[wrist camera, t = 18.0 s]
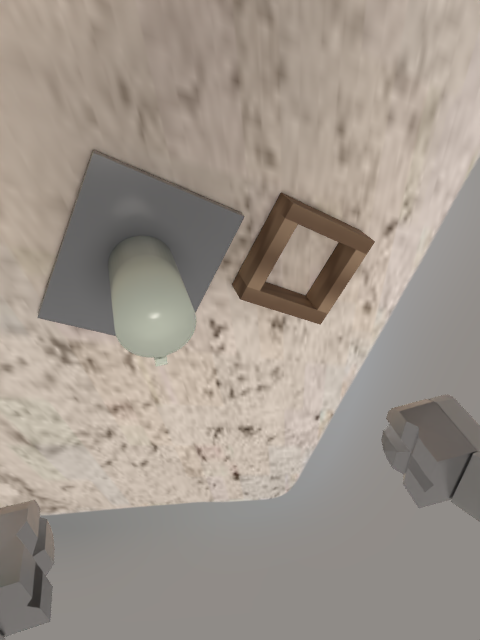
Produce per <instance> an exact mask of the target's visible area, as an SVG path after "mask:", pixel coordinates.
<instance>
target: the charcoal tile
mask: <svg viewBox="0 0 480 640" xmlns="http://www.w3.org/2000/svg"><path fill="white" fill-rule="evenodd" d="M243 218H244V216H243V214H242V213H240V212H238V211H236V210H233V209H231V208H229V207H226V206H224V205H222V204H219V203H217V202H215V201H212V200H210V199H208V198H205V197H203V196H201V195H198V194H196V193H194V192H191V191H189V190H187V189H184V188H182V187H180V186H177V185H175V184H173V183H170V182H168V181H166V180H163V179H161V178H159V177H156V176H154V175H152V174H149V173H147V172H145V171H142V170H140V169H137V168H135V167H133V166H130V165H128V164H126V163H123V162H121V161H119V160H116V159H114V158H112V157H109V156H107V155H105V154H102V153H100V152H98V151H95V150H93V151H92V154H91V157H90V160H89V163H88V166H87V169H86V172H85V175H84V178H83V181H82V184H81V187H80V190H79V193H78V196H77V199H76V202H75V205H74V208H73V211H72V214H71V217H70V220H69V223H68V226H67V228H66V231H65V234H64V237H63V240H62V243H61V246H60V249H59V252H58V255H57V258H56V261H55V264H54V267H53V270H52V273H51V276H50V279H49V282H48V285H47V288H46V291H45V294H44V297H43V300H42V303H41V306H40V309H39V312H38V318H40V319H45V320H49V321H53V322H58V323H62V324H66V325H71V326H75V327H79V328H84V329H88V330H93V331H97V332H101V333H106V334H110V335H114V336H116V334H115V327H114V318H113V309H112V300H111V290H110V281H109V272H108V261H109V257H110V254H111V252H112V251H113V249H114V248H115V247H116V246H117V245H118V244H119V243H120V242H122V241H123V240H125V239H127V238H130V237H134V236H150V237H153V238H156V239H158V240H160V241H162V242H163V243H164V244H165V245H166V246H167V247H168V248H169V249H170V251H171V253H172V255H173V258H174V260H175V263H176V265H177V268H178V270H179V273H180V275H181V278H182V281H183V283H184V286H185V288H186V291H187V293H188V296H189V298H190V301H191V303H192V306H193V309H194V311H195V312H196V311H197V309H198V307H199V305H200V303H201V301H202V299H203V297H204V295H205V293H206V291H207V289H208V287H209V285H210V283H211V281H212V279H213V277H214V275H215V273H216V271H217V269H218V267H219V265H220V263H221V262H222V260H223V258H224V256H225V254H226V252H227V250H228V248H229V246H230V244H231V242H232V240H233V238H234V236H235V234H236V232H237V230H238V228H239V226H240V224H241V222H242V220H243Z"/></svg>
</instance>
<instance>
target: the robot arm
mask: <svg viewBox="0 0 480 640" xmlns="http://www.w3.org/2000/svg"><path fill="white" fill-rule="evenodd" d="M386 419H387V420H388V422H389V423H390V424H389V425H388V426H387V427H386V428H385V429H384V431H383V435H382V445H383V450H384V453H385V455H386V458H387V460H388V461H389V463H390V464H391V466H392V468H394V469H395V470H397V471H399V472H401V473H402V474H403V485H404V486H405V488H406V489H407V491H408V492H409V494H410V495H411V497H412V499H413V500H414V502H415V503H416V505H417V506H418V508H422V507H425V506H429V505H433V504H436V503H440V502H443V501H447V500H451V499H452V500H451V502H452V503H454V504H455V505H456V506H458V507H459V508H461V509H462V510H464V511H465V512H467V513H468V514H469V515H471V516H472V517H474V518H475V519H476V520H478V521H479V522H480V425H478V423H477V422H476V421H475V420H474V419H473V418H472V417H471V416H470V415H469V413H468V412H467V411H466V410H465V409H464V408H463V407H462V406H461V405H460V404H459V403H458V402H457V400H456V399H454V398H453V397H452V396H450V395H441V396H438V397H434V398H431V399H424V400H420V401H417V402H413V403H409V404H406V405H402V406H399V407H395V408H392V409H391V410H390V411H389V412H388V414H387V418H386ZM54 550H55V549H54V539H53V533H52V530H51V526H50V525H49V523H48V520H47V519H44V518H41V517H40V507H39V505H38V504H37V502H36V501H35V500H31V501H27V502H23V503H19V504H15V505H10V506H6V507H2V508H0V640H5V638H4V637H5V636H9V635H11V634H15V633H17V632H21V631H24V630H27V629H30V628H33V627H36V626H38V625H41V624H44V623H47V622H50V617H51V602H52V585H51V583H50V582H49V580H48V579H47V577H46V575H47V574H48V572H49V571H50V569H51V568H52V566H53V564H54Z"/></svg>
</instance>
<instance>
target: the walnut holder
mask: <svg viewBox="0 0 480 640" xmlns="http://www.w3.org/2000/svg"><path fill="white" fill-rule="evenodd" d="M298 224H299V225H302V226H304V227H306V228H308V229H311V230H313V231H315V232H317V233H320V234H322V235H324V236H326V237H329V238H331V239H333V240H335V241H338V242H339V244H338V245H337V247H336V248H335V250H334V252H333V253H332V255H331V256H330V258H329V260H328V261H327V263H326V265H325V266H324V268H323V269H322V271H321V273H320V274H319V276H318V277H317V279H316V281H315V282H314V284H313V285H312V287H311V289H310V290H309V292H308V293H307V295H306V296H304V295H302V294H299V293H296V292H293V291H290V290H287V289H284V288H281V287H279V286H276V285H273V284H270V283H267V282H265V281H266V279H267V277H268V276H269V274H270V272H271V270H272V269H273V267H274V265H275V263H276V262H277V260H278V258H279V256H280V255H281V253H282V251H283V249H284V248H285V246H286V244H287V242H288V241H289V239H290V237H291V235H292V233H293V232H294V230H295V228H296V226H297V225H298ZM374 242H375V241H373V240H372V239H371V238H370V237H368V236H367V235H366V234H364V233H363V232H362V231H360V230H358V229H356V228H354V227H352V226H350V225H348V224H346V223H344V222H342V221H340V220H338V219H335V218H333V217H331V216H329V215H327V214H325V213H323V212H321V211H319V210H317V209H315V208H312V207H310V206H308V205H306V204H304V203H302V202H300V201H298V200H296V199H294V198H292V197H289V196H287V195H285V194H283V193H281V194H280V196H279V198H278V199H277V201H276V203H275V205H274V207H273V209H272V211H271V213H270V214H269V216H268V218H267V220H266V222H265V224H264V226H263V228H262V229H261V231H260V233H259V235H258V237H257V239H256V241H255V243H254V244H253V246H252V248H251V250H250V252H249V254H248V256H247V258H246V259H245V261H244V263H243V265H242V267H241V269H240V271H239V272H238V274H237V276H236V278H235V280H234V282H233V284H232V286H233V287H234V289H235V291H236V293H237V294H238V296H239V298H240V299H241V300H244V301H247V302H250V303H254V304H257V305H260V306H263V307H266V308H270V309H273V310H276V311H279V312H282V313H285V314H289V315H292V316H295V317H298V318H301V319H305V320H308V321H311V322H314V323H317V324H320V325H321V323H322V322H323V320H324V318H325V317H326V315H327V314H328V312H329V311H330V309H331V308H332V306H333V305H334V303H335V302H336V300H337V299H338V297H339V296H340V294H341V293H342V291H343V290H344V288H345V287H346V285H347V283H348V282H349V280H350V279H351V277H352V276H353V274H354V273H355V271H356V270H357V268H358V267H359V265H360V264H361V262H362V261H363V259H364V258H365V256H366V255H367V253H368V252H369V250H370V248H371V247H372V245H373V244H374Z"/></svg>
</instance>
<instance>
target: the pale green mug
mask: <svg viewBox="0 0 480 640" xmlns="http://www.w3.org/2000/svg"><path fill="white" fill-rule="evenodd" d="M108 272H109V281H110V290H111V300H112V309H113V318H114V327H115V334H116V337H117V339H118V341H119V342H120V344H121V345H122V346H123V347H124V348H125V349H126V350H128V351H129V352H131V353H133V354H135V355H138V356H142V357H151V358H152V357H154V360H155V365H156V366H161V365H166V364H168V363H167V357H166V355H169V354H171V353H173V352H176V351H177V350H179V349H180V348H182V347H183V346H184V345H185V344H186V343H187V342H188V341H189V340H190V338H191V337H192V335H193V333H194V330H195V327H196V315H195V311H194V309H193V306H192V303H191V301H190V298H189V296H188V293H187V291H186V288H185V286H184V283H183V281H182V278H181V275H180V273H179V270H178V268H177V265H176V263H175V260H174V258H173V255H172V253H171V251H170V249H169V248H168V247H167V246H166V245H165V244H164V243H163V242H162V241H160V240H158V239H156V238H153V237H150V236H134V237H130V238H127V239H125V240H123V241H122V242H120V243H119V244H118V245H117V246H116V247H115V248H114V249H113V251H112V252H111V254H110V257H109V261H108Z"/></svg>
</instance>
